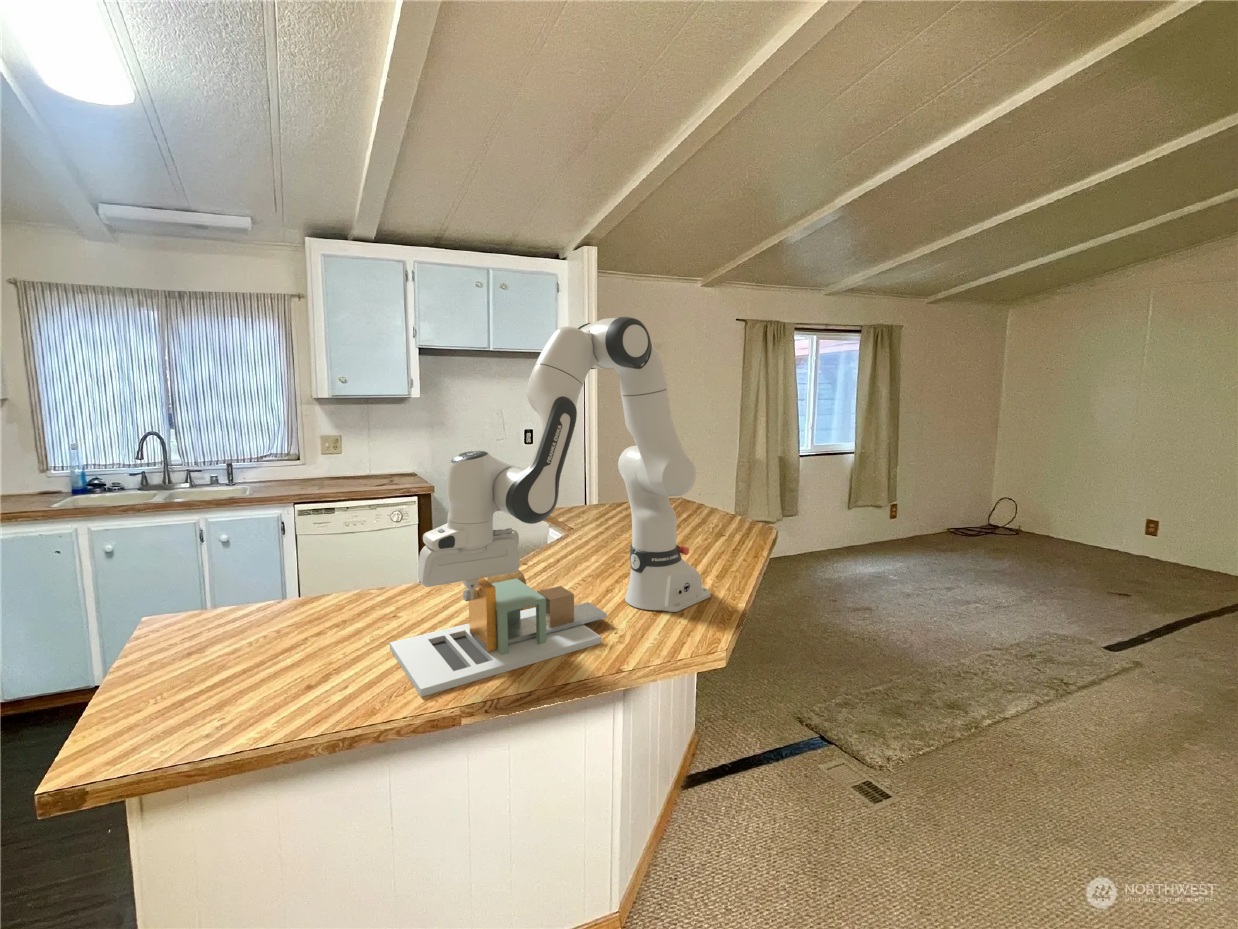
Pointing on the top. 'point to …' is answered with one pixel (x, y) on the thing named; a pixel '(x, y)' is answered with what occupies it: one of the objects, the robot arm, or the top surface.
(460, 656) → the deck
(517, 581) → the tunnel
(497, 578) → the potato
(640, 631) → the top surface
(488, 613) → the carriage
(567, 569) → the top surface
